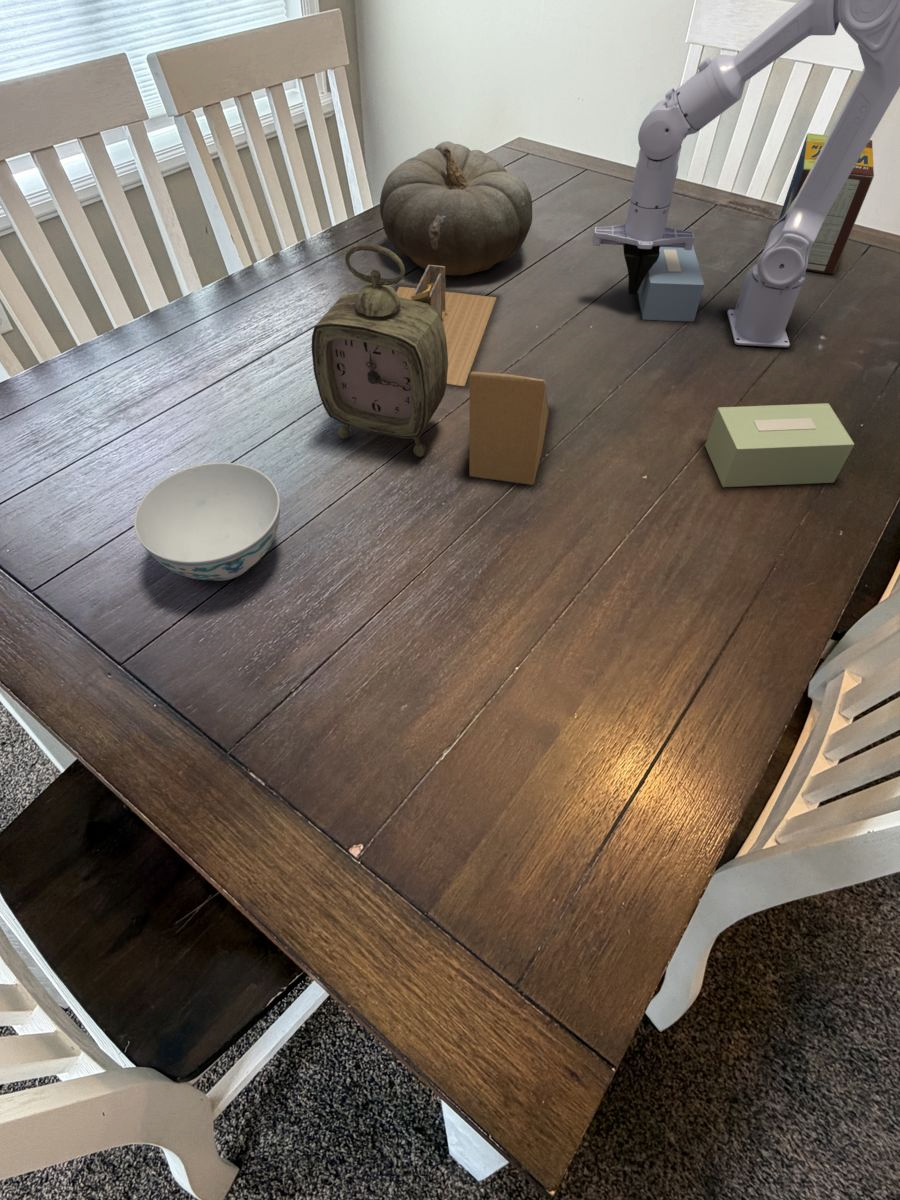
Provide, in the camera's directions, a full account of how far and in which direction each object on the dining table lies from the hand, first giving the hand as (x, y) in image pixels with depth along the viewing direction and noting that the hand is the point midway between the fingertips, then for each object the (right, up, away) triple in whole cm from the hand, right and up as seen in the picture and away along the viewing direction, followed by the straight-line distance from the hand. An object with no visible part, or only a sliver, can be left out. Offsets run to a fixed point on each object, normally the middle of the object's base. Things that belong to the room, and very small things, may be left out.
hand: (632, 291), depth 115 cm
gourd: (-27, +12, +13) cm, 32 cm away
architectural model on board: (-32, -8, -3) cm, 33 cm away
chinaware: (-54, -44, -32) cm, 77 cm away
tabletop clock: (-37, -27, -18) cm, 49 cm away
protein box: (+33, +13, +14) cm, 38 cm away
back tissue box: (+6, +1, +3) cm, 7 cm away
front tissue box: (+12, -31, -22) cm, 40 cm away
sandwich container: (-21, -28, -19) cm, 40 cm away
